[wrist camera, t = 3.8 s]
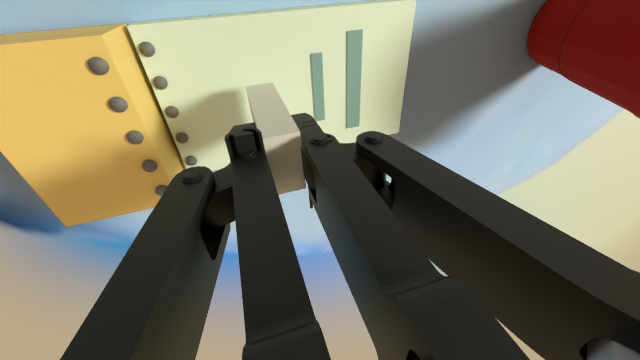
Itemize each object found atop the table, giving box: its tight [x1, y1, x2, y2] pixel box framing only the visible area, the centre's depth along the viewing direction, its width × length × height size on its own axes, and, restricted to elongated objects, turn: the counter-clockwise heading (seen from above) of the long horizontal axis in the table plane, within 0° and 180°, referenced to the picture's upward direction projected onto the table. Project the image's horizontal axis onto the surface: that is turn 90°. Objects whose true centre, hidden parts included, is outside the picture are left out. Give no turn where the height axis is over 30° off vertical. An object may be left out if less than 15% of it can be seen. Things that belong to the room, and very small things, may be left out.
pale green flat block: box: [127, 0, 416, 171], centre depth 18 cm, size 9×16×2 cm, turn 94°
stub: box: [0, 23, 186, 227], centre depth 15 cm, size 9×6×4 cm, turn 4°
